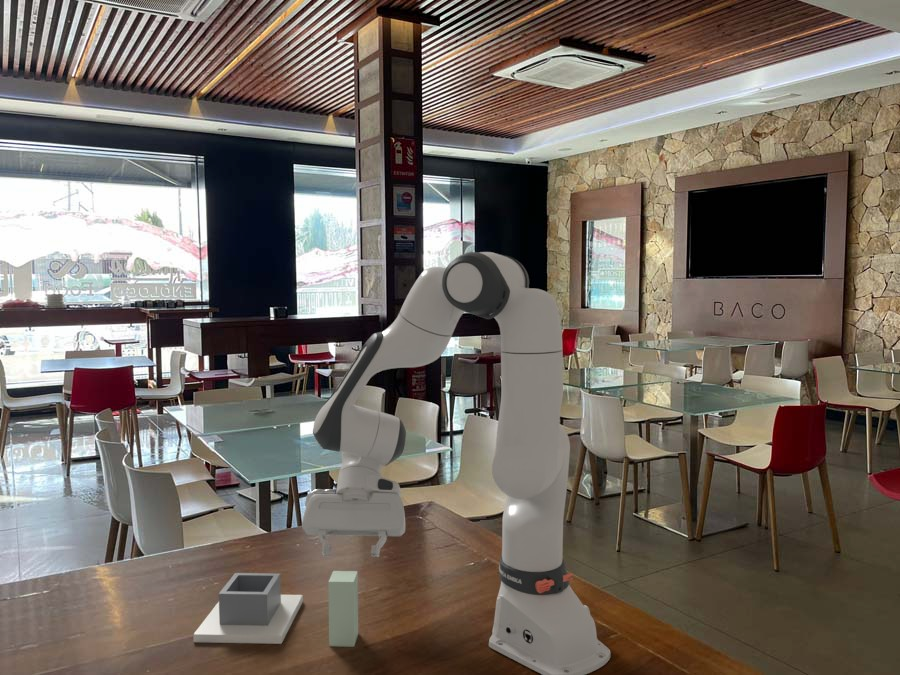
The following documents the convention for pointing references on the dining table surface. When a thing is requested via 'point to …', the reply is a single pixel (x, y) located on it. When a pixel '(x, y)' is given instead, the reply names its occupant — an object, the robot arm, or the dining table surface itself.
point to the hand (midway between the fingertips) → (350, 555)
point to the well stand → (250, 611)
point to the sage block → (343, 608)
